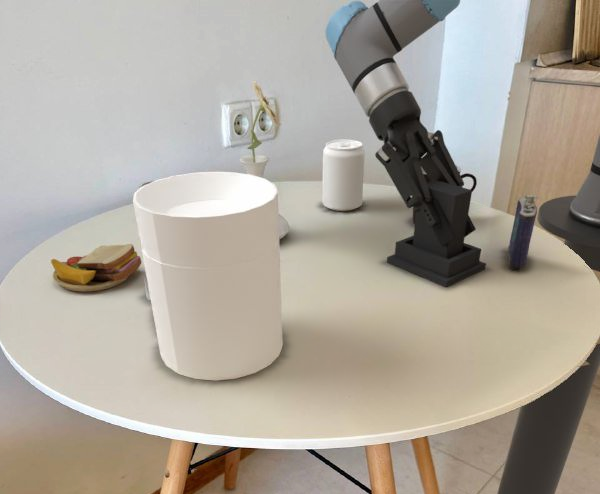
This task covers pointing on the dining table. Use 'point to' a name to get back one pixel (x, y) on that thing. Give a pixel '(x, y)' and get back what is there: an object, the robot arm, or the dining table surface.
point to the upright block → (456, 211)
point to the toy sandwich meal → (97, 268)
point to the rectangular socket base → (436, 262)
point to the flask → (522, 232)
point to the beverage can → (343, 174)
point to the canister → (213, 271)
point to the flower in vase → (258, 162)
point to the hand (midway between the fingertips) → (459, 237)
